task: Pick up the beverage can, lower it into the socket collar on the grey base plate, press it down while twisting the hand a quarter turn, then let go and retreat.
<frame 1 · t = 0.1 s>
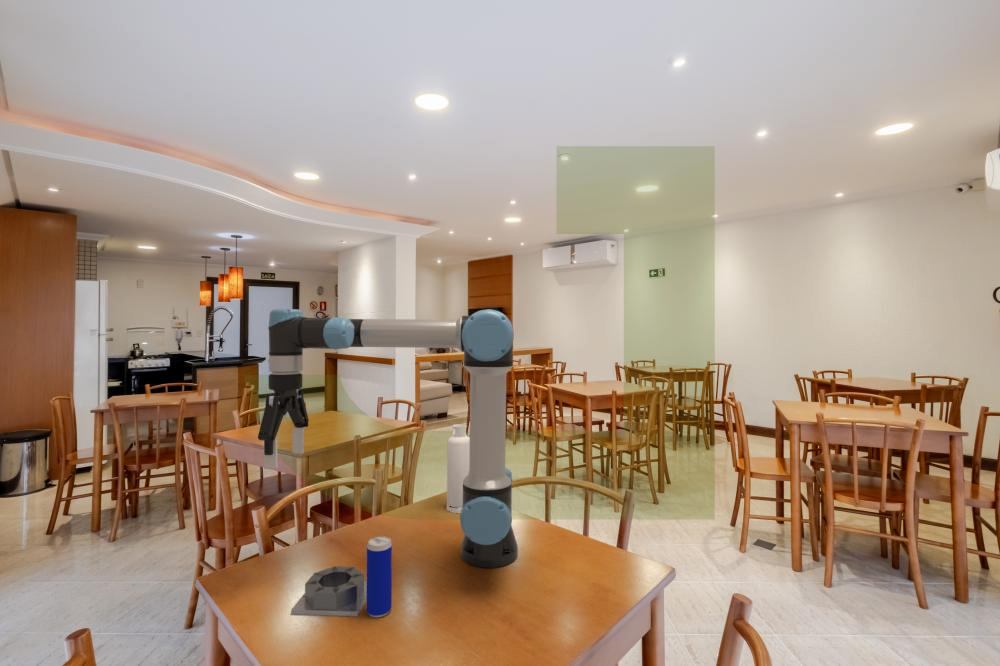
hand: (285, 460, 116), 28 cm above the table, fingers open, 13 cm apart
socket: (334, 599, 106), on the table
bottle: (458, 509, 160), on the table
beverage can: (379, 612, 102), on the table
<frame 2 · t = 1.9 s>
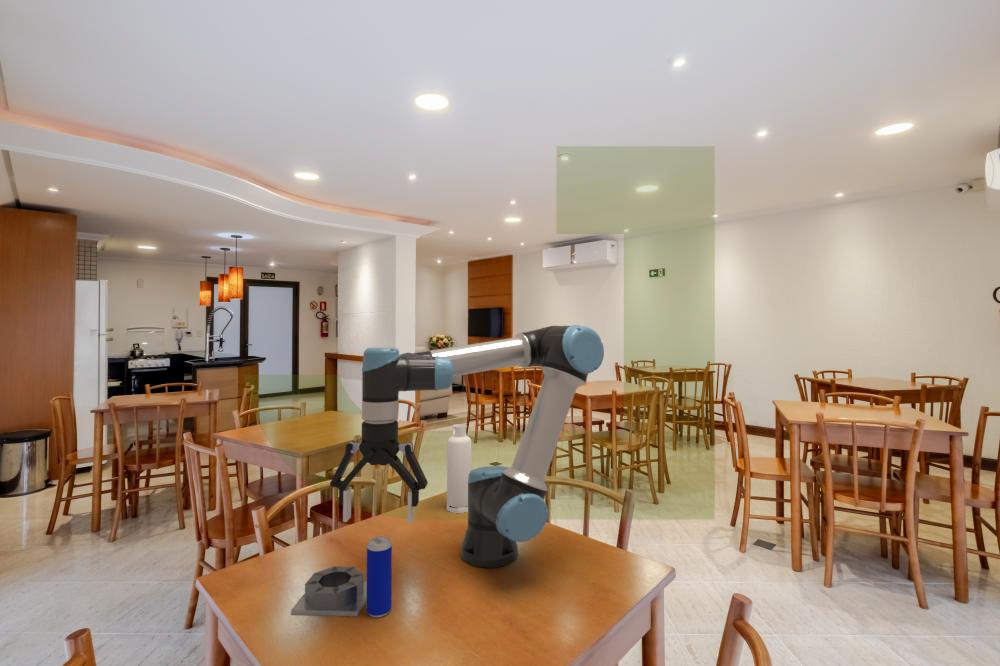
hand: (378, 520, 101), 19 cm above the table, fingers open, 13 cm apart
nothing on the table moved.
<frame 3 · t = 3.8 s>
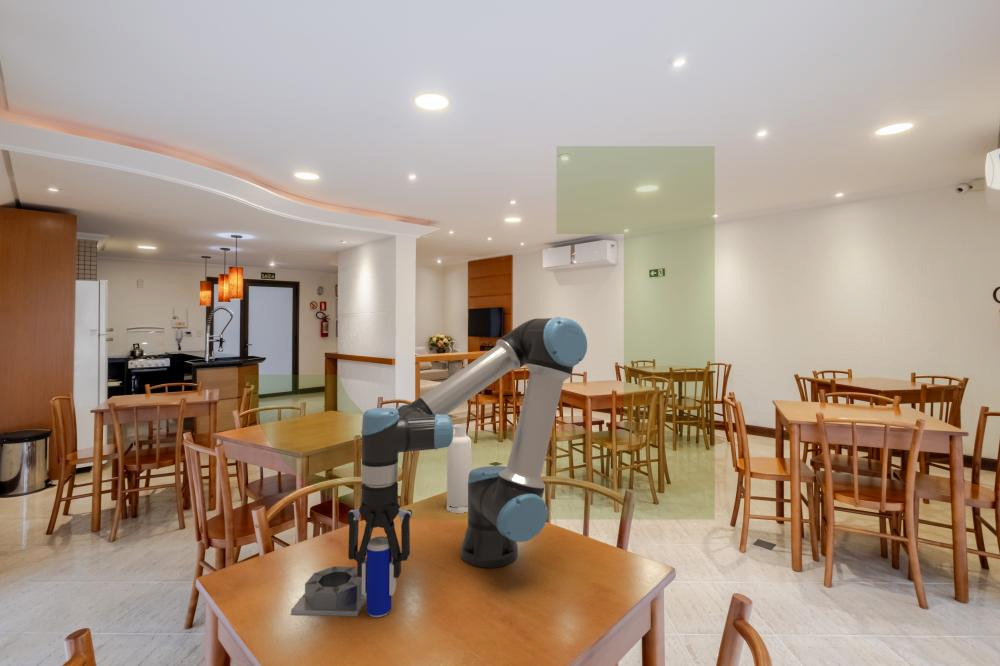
hand: (379, 591, 101), 4 cm above the table, fingers closed on beverage can, 5 cm apart
beverage can: (378, 612, 101), on the table, touching gripper
everything else where it was.
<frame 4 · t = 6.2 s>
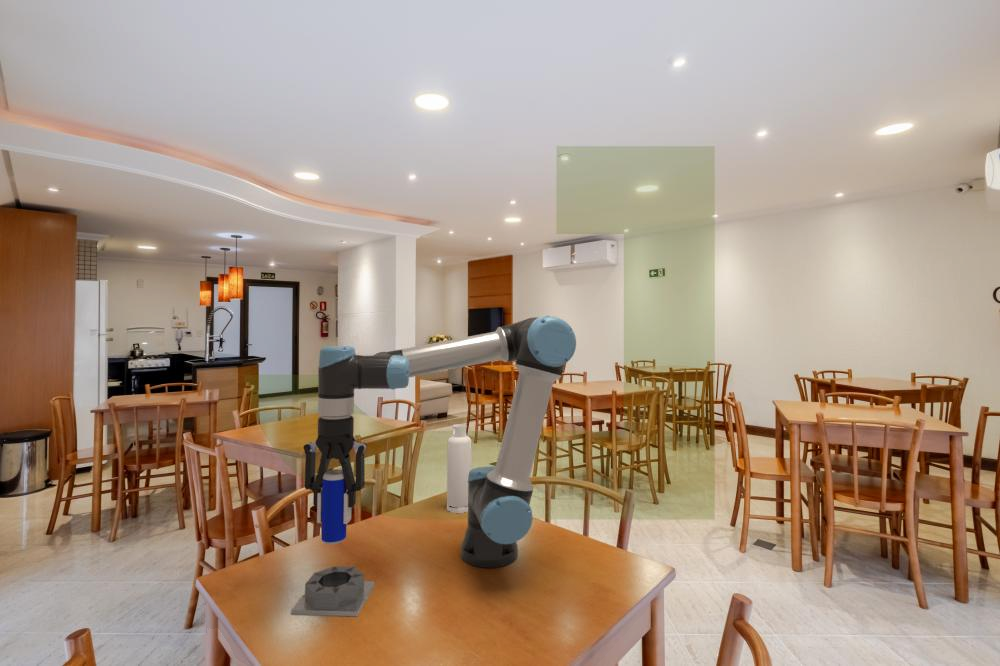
hand: (334, 520, 106), 17 cm above the table, fingers closed on beverage can, 5 cm apart
beverage can: (333, 541, 106), point 13 cm above the table, touching gripper
everything else where it was.
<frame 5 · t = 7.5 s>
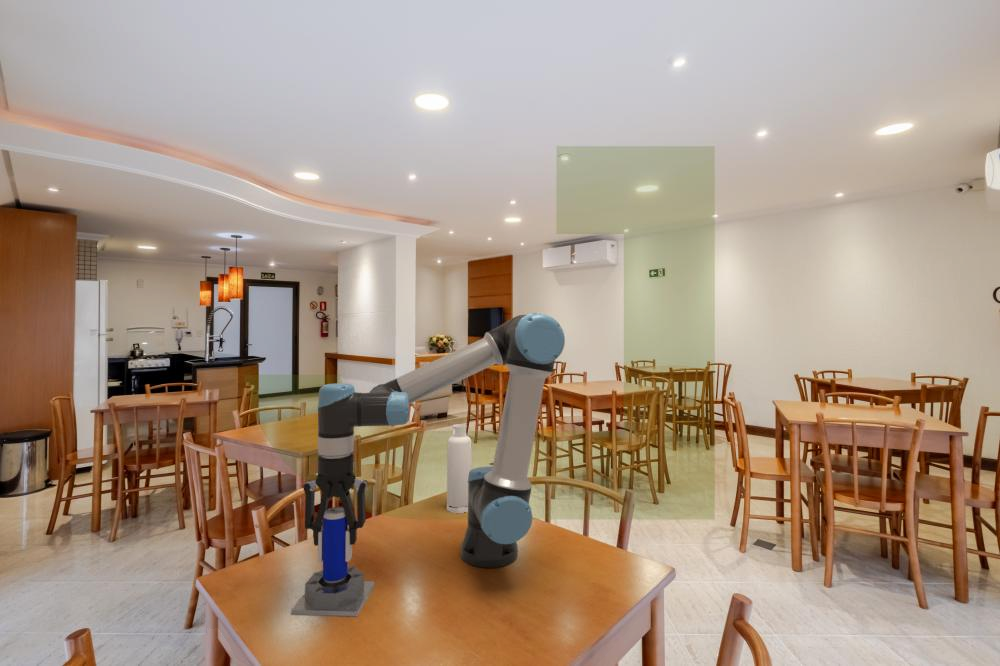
hand: (335, 558, 106), 9 cm above the table, fingers closed on beverage can, 5 cm apart
beverage can: (335, 579, 106), point 5 cm above the table, touching gripper
everything else where it was.
when the fingers open (6 cm above the table, at t = 8.5 s): beverage can stays where it is, resting on socket.
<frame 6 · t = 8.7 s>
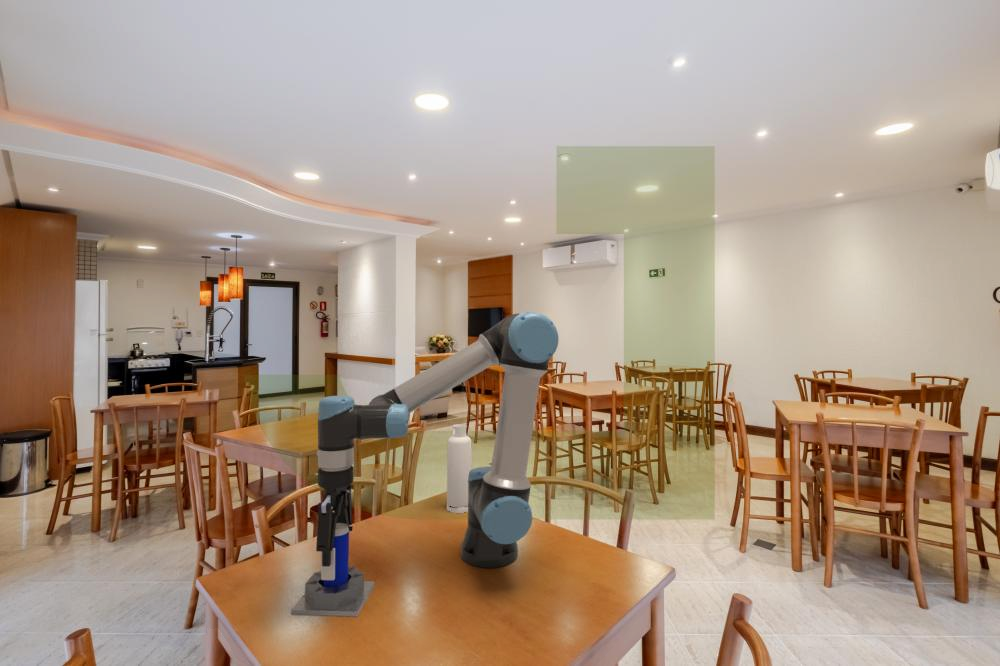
hand: (335, 569, 106), 7 cm above the table, fingers open, 7 cm apart
beverage can: (335, 595, 106), point 1 cm above the table, touching socket
everything else where it was.
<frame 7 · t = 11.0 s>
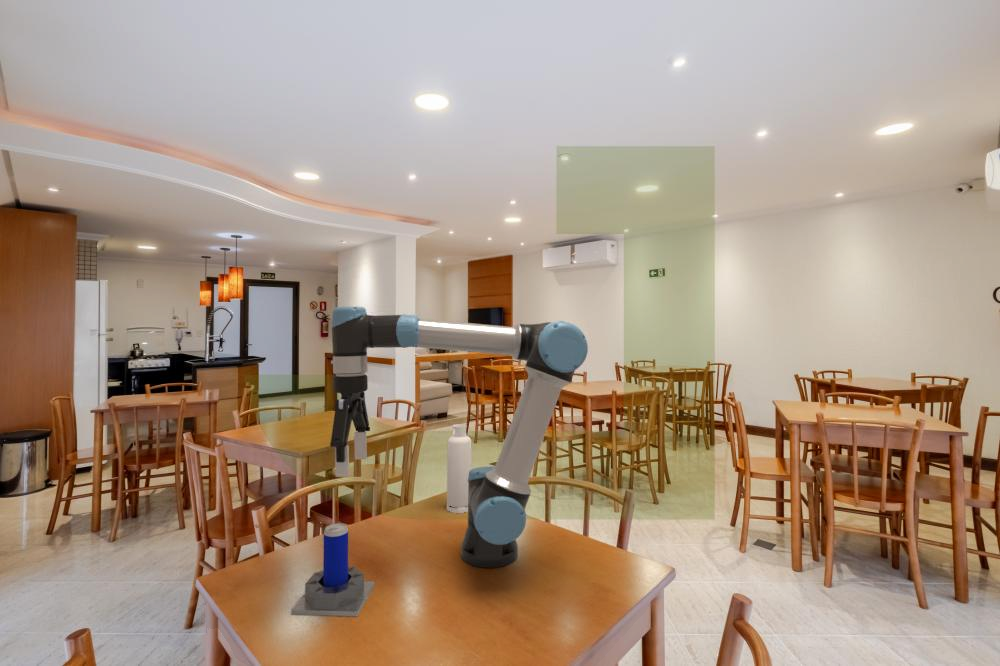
hand: (352, 467, 109), 28 cm above the table, fingers open, 13 cm apart
nothing on the table moved.
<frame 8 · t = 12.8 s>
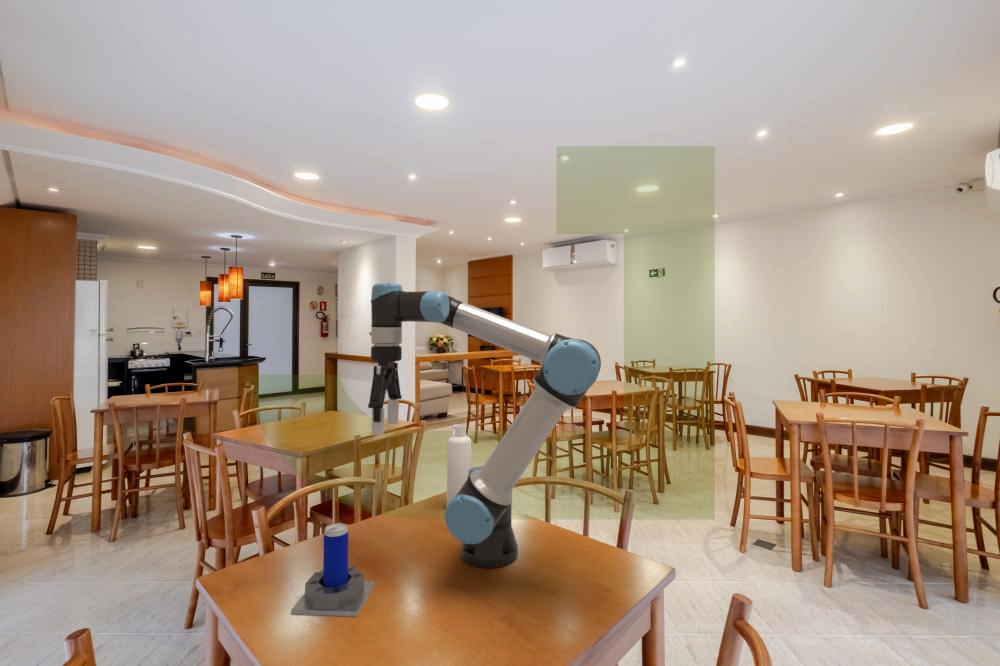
hand: (385, 429, 120), 35 cm above the table, fingers open, 13 cm apart
nothing on the table moved.
at the end: beverage can 0.1 cm from the socket (horizontally); beverage can point 0.8 cm above the table; beverage can tilted 0° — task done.
